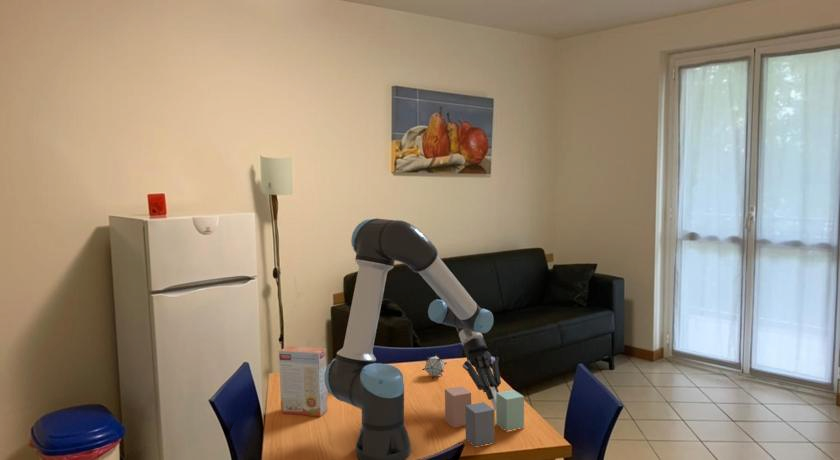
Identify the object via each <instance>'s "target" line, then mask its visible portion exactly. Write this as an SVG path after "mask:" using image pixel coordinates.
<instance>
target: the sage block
mask: <svg viewBox="0 0 840 460" xmlns="http://www.w3.org/2000/svg"><path fill="white" fill-rule="evenodd" d="M495 411H496V412H495V413H496V416H495V418H496V419H495V421H496V422H495V424H496V425H497V424H498V425H499V426H500V427H502V428H503V429H505V430H506V431H508V430H513V429H518V428H523V427H524V428H525V396H524V395H522V394H521V393H520V392H518V391H516V390H514V389H511V390H504V391H499V392H497V393H496V410H495ZM498 425H497V426H498ZM499 426H498V427H499ZM500 427H499V428H500ZM502 428H501V429H502ZM503 429H502V430H503ZM506 431H505V432H506Z"/></svg>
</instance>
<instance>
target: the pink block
mask: <svg viewBox="0 0 840 460" xmlns="http://www.w3.org/2000/svg"><path fill="white" fill-rule="evenodd" d="M471 404H472V392H471V391H470V390H469V389H466V388H465V387H464V386H463V385H461V386H456V387H450V388H444V420H445V422H447V424H449V426H450V427H452V428H453V429H455V428H460V427H466V405H471Z"/></svg>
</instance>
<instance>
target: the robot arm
mask: <svg viewBox="0 0 840 460" xmlns="http://www.w3.org/2000/svg"><path fill="white" fill-rule="evenodd" d="M350 241H351V247H352V250H353V252H355V259H354V261H355V264H357V266H358V270H357V276H356V280H355V281H356V282H355V285H354V291H353V296H352V300H351V306H350V311H349V317H348V321H347V327H346V332H345V337H344V342H343V347H342V348H341V349H339V350H338V351H337V352H336V357H335V358H333V359H332V360H331V361H330V363H328V364H327V365H326V371H325V376H324V381H325V386H326V388H327V393H328V394H330V395H331V396H332V397H334V398H336V400H337V401H340V402H343V403H346V404H348V405H351V406H353V407H355V408H358V409H360V410H361V427H360V431H359V434H358V437H357V441H356V444H355V455H356V457H357V458H358V459H359V460H406V459H407V458H409V456H410V455H411V451H412V450H411V449H412V448H411V447H412V446H411V440H410V436H409V434H408V431H407V428H406V426H405V382H404V376H403V373H402V371H401V370H400V369H399V368H398V367H396V366H395V365H392V364H388V363H382V362H380V363H379V362H378V363H377V362H376V361H377V358H376V356H375V355H374V353H373V352H372V351H374V350H373V349H374V345H375V339H376V334H377V329H378V323H379V318H380V313H381V307H382V304H383V303H382V302H383V299H384V292H385V286H386V281H387V275H388V273H389V271H391V270H392V269H394V267H395V262H396V261H397V262H399V263H402V264H403V265H406V266H407V267H408V268H409V269H410V270H411V271H413V272H414V273H418V274H419V275H420V276H421V277H422V279H423V280H424V281H425V282H426V283H427V284H428V285H429V287H430V288H431V289H432V290H433V291H434V292H435V294H436V295H437V296H438V297H439V298H440V299H434V300H433V301H432V302H430V304H429V306H428V310H427V314H428V318H429V319H430V320H431V321H432V322H434V323H436V324H442V325H445V326H449V327H454V328H456V331H457V334H458V337H459V339H460V342H461V345H462V346H463V347H462V348H463V351H464V354H465V356H466V361H465V362H464V363H463V364H462V368H463V369H464V370H466V372H467V373H468V375H469V376H470V378H471V380H472V381H473V383H474V384H475V386H476V387H477V389H478V391H483V393H485V394H486V397H487V399H488V400H490V401H491V404H492V408H493V409H494V411H496V393H497V392H500V390H499V389H498V387H499V386H500V385H501V384H502V379H501V373H500V368H499V367H500V366H499V359H500V358H499V357H498V356H493V355H492V354H491V353H490V352H489V351H488V350H489V349H488V347H487V343H486V340H485V339H484V336H483V334H487V333H488V332H489V331H490V330H491V329H492V328H493V325H494V315H493V313H492V312H491V311H490V310H488V309H485V308H481V307H480V306H479V305H478V304H477V302H476V301H475V300H474V299H473V298H472V297H471V294H470V293H468V291H467V290H466V288H465V287H464V286H463V285H462V284H461V282H460V281H459V280H458V279H457V277H456V276H455V275H454V273H452V272H451V270H450V269H449V267H448V266H447V265H446V264H445V262H444V261H443V259H441V258H440V257H439V251H438V249H437V247H436V246H435V245H434V243H432V241H431V240H430V239H429V238H428V237H427V236H426V235H425V234H424V233H423V232H422V231H420V229H419V228H417V227H416V226H414V225H413V224H411V223H409V222H407V221H404V220H398V219H397V220H396V219H395V220H393V219H387V218H386V219H384V218H369V219H365V220H362V221H361V222H360V223H358V225H356V227H355V228H354V230H353V232H352V234H351V239H350Z"/></svg>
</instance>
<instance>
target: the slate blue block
mask: <svg viewBox="0 0 840 460" xmlns="http://www.w3.org/2000/svg"><path fill="white" fill-rule="evenodd" d="M465 440H466V441H467V440H468V441H467V442H468V443H469V444H471V443H472V444H473V445H474V446H475V447H476V446H481V445H485V444H490V443H493V442H494V443H495V410H494V407H491V406H490V405H489V404H487V403H486V402H485V401H482V402H477V403H471V405H466V426H465ZM472 444H471V445H472ZM473 445H472V446H473ZM474 446H473V447H474ZM475 447H474V448H475Z"/></svg>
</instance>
